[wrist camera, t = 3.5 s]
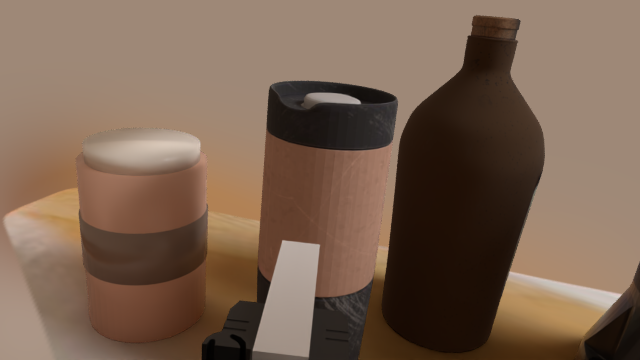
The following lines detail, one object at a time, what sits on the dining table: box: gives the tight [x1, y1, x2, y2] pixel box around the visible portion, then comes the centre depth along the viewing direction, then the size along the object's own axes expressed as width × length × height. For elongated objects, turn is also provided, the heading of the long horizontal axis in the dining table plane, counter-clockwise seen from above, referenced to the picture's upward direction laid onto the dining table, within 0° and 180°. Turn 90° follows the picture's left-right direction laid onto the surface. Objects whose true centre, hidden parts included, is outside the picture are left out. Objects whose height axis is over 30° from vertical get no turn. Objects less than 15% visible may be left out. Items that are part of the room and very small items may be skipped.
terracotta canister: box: [76, 128, 208, 343], centre depth 36 cm, size 9×9×14 cm
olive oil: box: [382, 15, 545, 352], centre depth 37 cm, size 11×11×25 cm
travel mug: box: [257, 81, 398, 360], centre depth 30 cm, size 8×8×20 cm
